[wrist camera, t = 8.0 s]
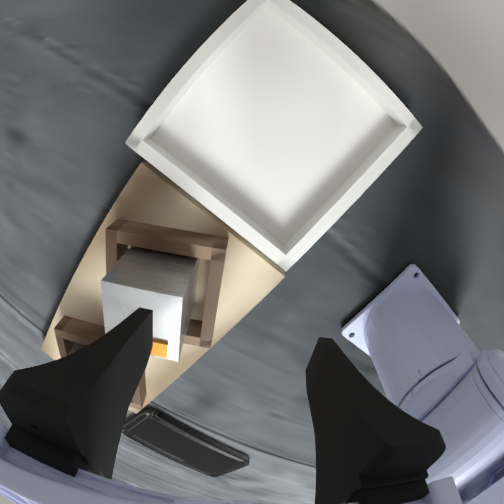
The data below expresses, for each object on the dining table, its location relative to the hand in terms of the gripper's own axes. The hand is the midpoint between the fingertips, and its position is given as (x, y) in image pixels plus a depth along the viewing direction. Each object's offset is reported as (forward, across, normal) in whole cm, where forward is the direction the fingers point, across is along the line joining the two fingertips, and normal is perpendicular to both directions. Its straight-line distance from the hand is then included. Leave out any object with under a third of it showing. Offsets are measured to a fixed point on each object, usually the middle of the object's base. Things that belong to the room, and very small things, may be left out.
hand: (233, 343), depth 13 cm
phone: (+10, +2, +26) cm, 28 cm away
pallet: (+9, +8, +7) cm, 14 cm away
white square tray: (+9, 0, -9) cm, 13 cm away
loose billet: (+8, +5, +2) cm, 10 cm away
